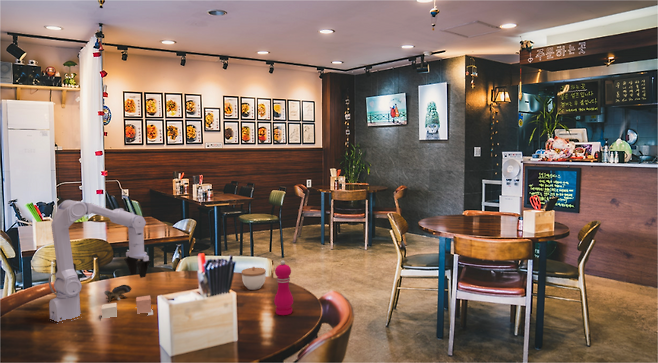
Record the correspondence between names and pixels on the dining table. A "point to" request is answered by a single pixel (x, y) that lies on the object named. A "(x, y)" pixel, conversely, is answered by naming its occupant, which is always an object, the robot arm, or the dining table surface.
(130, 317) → the dining table surface
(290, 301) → the pepper mill
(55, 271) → the glass holder
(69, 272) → the robot arm
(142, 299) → the pink cube
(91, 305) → the dining table surface
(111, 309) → the cream base brick
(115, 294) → the squirrel figurine
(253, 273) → the lidded jar
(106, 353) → the dining table surface
